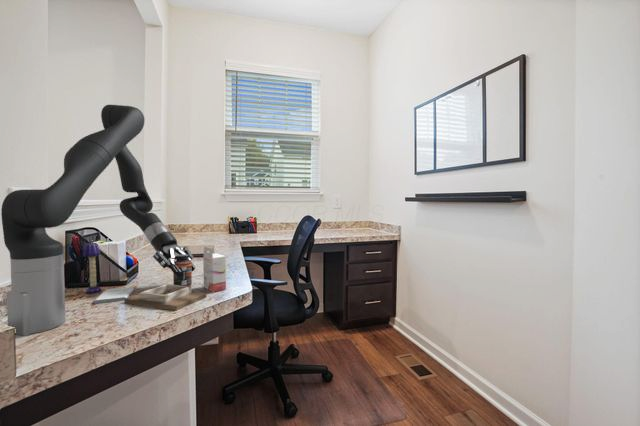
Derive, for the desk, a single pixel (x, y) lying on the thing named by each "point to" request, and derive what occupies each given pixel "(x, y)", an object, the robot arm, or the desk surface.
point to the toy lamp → (92, 266)
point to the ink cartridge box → (214, 270)
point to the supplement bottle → (183, 271)
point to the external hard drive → (114, 295)
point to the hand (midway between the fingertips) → (186, 271)
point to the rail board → (166, 297)
